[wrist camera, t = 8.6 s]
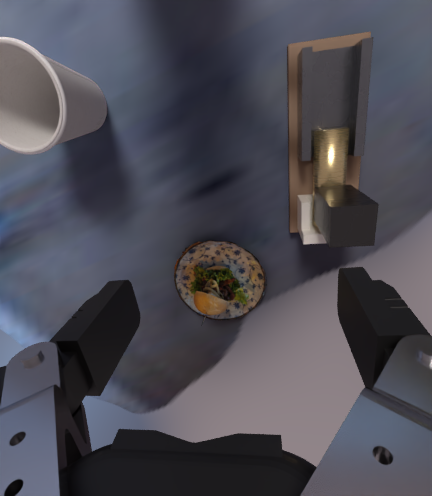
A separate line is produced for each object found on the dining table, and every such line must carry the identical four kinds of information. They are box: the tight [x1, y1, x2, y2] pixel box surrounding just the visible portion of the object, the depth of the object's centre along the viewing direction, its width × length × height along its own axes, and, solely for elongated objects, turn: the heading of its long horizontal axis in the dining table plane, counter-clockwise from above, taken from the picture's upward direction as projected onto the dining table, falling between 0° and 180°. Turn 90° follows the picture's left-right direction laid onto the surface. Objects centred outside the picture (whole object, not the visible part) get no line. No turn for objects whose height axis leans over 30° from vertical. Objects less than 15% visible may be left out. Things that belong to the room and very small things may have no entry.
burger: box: [174, 241, 266, 326], centre depth 36 cm, size 12×12×8 cm
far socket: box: [297, 194, 327, 244], centre depth 30 cm, size 4×5×5 cm
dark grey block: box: [312, 127, 378, 248], centre depth 26 cm, size 9×3×10 cm, turn 6°
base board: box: [287, 32, 371, 233], centre depth 30 cm, size 18×7×1 cm, turn 6°
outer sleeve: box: [297, 37, 373, 161], centre depth 27 cm, size 9×5×3 cm, turn 6°
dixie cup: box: [0, 37, 107, 154], centre depth 28 cm, size 8×8×10 cm
